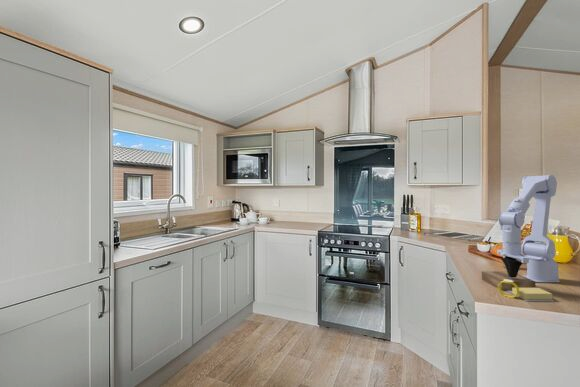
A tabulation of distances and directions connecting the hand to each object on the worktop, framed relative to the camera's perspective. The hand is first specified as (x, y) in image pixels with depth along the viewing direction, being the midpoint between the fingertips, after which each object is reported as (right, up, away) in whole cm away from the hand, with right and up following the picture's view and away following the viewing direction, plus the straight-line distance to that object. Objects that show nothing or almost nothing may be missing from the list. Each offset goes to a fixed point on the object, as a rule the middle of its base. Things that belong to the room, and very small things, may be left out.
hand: (512, 276), depth 109 cm
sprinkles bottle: (+19, -4, +26) cm, 33 cm away
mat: (-1, -4, -9) cm, 10 cm away
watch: (-8, -5, -8) cm, 13 cm away
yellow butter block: (-1, -2, -10) cm, 10 cm away
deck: (0, -4, +3) cm, 5 cm away
